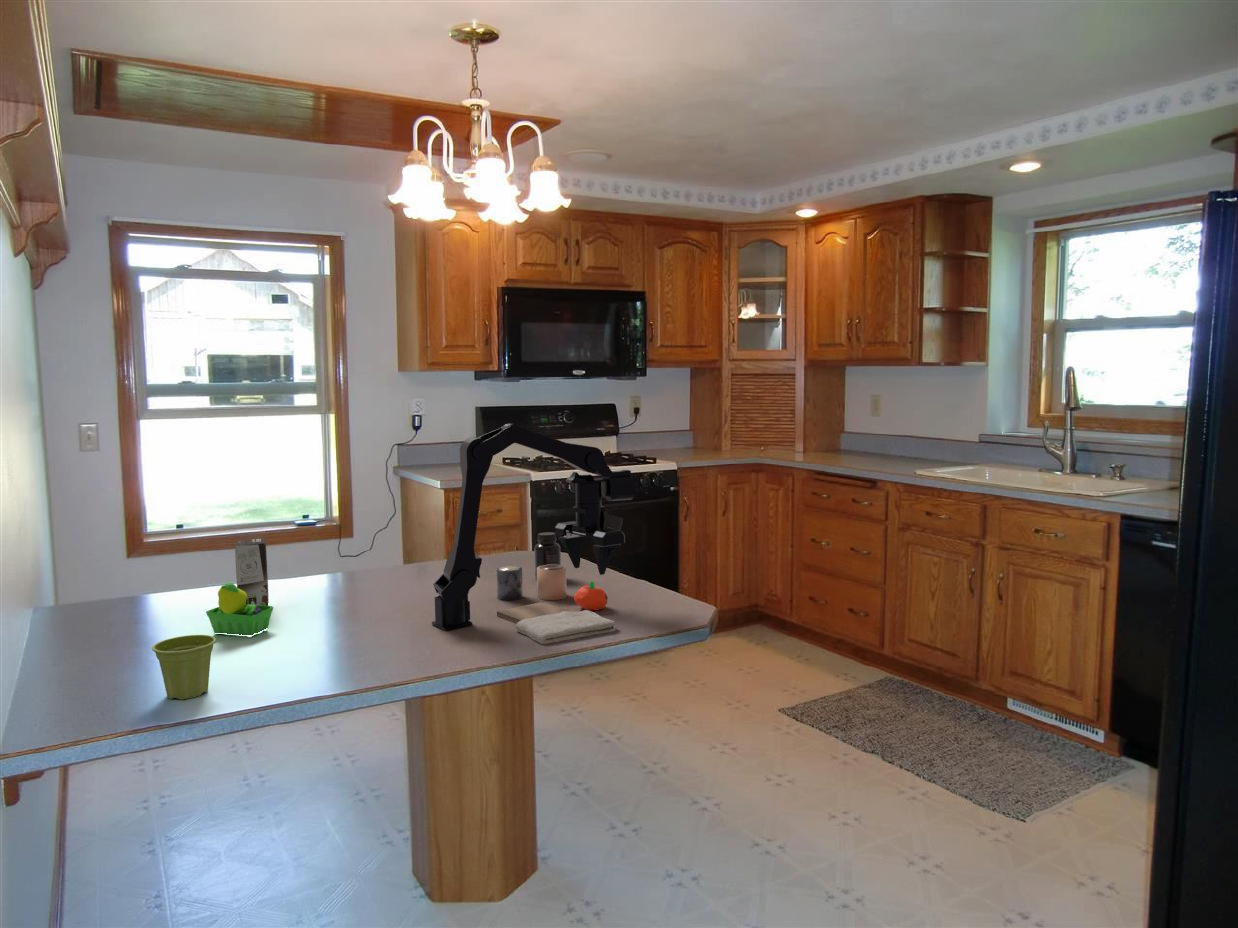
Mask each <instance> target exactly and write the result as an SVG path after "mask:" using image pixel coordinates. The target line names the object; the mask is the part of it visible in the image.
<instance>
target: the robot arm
mask: <svg viewBox="0 0 1238 928" xmlns="http://www.w3.org/2000/svg"><path fill="white" fill-rule="evenodd" d="M513 444H517V445H520V446H523V447H526V448H528V449H531V450H534V451H538V452H541V453H543V454H546V455H548V456H549V455H550V456H552V457H555V458H558V459H560V460H561V461H563V462H564V463H566V464H568V465H569V466H570V467H573V468H574V469H577V470H578V471H581V472H585V473H589V474H579V473H578V472H577V471H572V473H571V474H570V475H569V477H567V478H566V483H569V484H575V506H572V507H571V512H574V513H575V520H573V521H572V520H571V521H565V522H558V523H557V524H556V525H555V527H554V533H555V536H556V537H558V540H559V541H560V543H561V544H562V546H563V547H564V549H565V551H566V552H567V555H568V557H569V559H570V561H571V563H572V565H573V567H574V568H575V569H579V568H580V566H581V565H580V564H581V555H582V554H581V553H582V543H583V542H584V540H585V539H586V538H589V539H590V538H591V539H592V541H593V543H594V544H593V545H592V550H593V553H594V558H595V562H596V565H597V570H598V574H599V575H600V576H602V575H603V576H604V575H605V574H606V571H607V568H608V564H609V562H610V559H611V556H612V554H613V552H615V551H614V550H616V549H617V548H618V547H619V548H620V547H621V545H622V544H625V543H626V536H625V535H626V534H625V533H624V532H623V531H622V530H621V529H622V526H623V520H624V518H623V517H619V516H616V515H613V514H609V513H608V511H607V508H606V506H602V497H603V498H605V500H606V501H607V502H615V501H627V500H628V501H631V500H633V499H634V497H635V495H636V484H635V482H634V481H635V480H634V478H633V477H632V470H630V469H622V470H621V469H620V470H617V471H616V470H612V469H611V467H609V465H608V464H607V462H606V461H605V455H604V453H603V451H602V450H601V449H600V448H599V447H596V446H590V445H582V444H577V443H576V444H575V443H569V442H565V441H562V440H559V439H556V438H553V437H552V436H551V437H550V436H547V435H545V434H541V433H539V432H536V431H533V430H530V429H527V428H524V427H522V426H520V425H519V424H516V423H509V422H508V423H505V424H504V425H503V426H501V427H498V428H497V429H495V430H492V431H489V432H488V433H485V434H482V435H481V436H478V437H475V436H474V437H472V436H471V437H468V438H466V439H465V440H463V441H462V442H461V444H460V445H459V446H460V447H459V464H460V471H461V476H462V479H461V480H462V482H461V489H460V495H459V504H458V512H457V518H456V519H457V520H456V527H455V534H454V542H453V545H452V547H451V549H450V551H449V553H448V556H447V559H446V562H445V565H444V568H443V574H441V575H440V577H438V579H437V580H436V581H435V582H434V583H433V588H434V590H435V593H436V594H438V596H434V618H435V619H434V620H435V621H432V622H431V625H433V626H435V627H437V628H439V629H442V630H444V631H450V630H455V629H459V628H463V627H468V626H472V625H474V624H473V621H471V602H470V600H469V592H470V591H471V589H472V588H474V586H475V585H476V583H477V582H478V581H477V580H478V578H479V579H480V578H481V574H480V570H481V565H482V562H483V559H482V557H480V556H479V555H478V554H476V551H475V544H476V543H475V541H476V537H477V536H476V535H477V528H478V521H479V512H480V505H481V498H482V490H483V483H484V480H485V478H486V476H487V474H488V472H489V470H490V467H491V465H492V461H493V458H494V456H496V455H498V454H499V453H501V452H502V451H505V450H506V449H508V448H509V447H510V446H512V445H513ZM593 475H595V476H599V478H595V477H594V476H593Z"/></svg>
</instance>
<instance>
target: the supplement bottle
mask: <svg viewBox="0 0 1238 928" xmlns="http://www.w3.org/2000/svg"><path fill="white" fill-rule="evenodd" d="M556 541H557V536H555V532H551V531H549V532H540V533H537V542H538V543H537V544H535V546H534V548H533V550H534V551H533V552H534V554H533V555H534V577H535V580H536V581H537V567H539V566H543V565H562V562H561V561H562V557H561V555H562V554H561V545H560V544H559V543H557V542H556Z"/></svg>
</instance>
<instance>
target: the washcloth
mask: <svg viewBox="0 0 1238 928" xmlns="http://www.w3.org/2000/svg"><path fill="white" fill-rule="evenodd" d="M615 622H616V621H615V620H611V619H610V618H605V617H603V616H602V615H599V614H598V613H596V612H595V611H594V612H593V611H592V610H586V609H583V610H582V611H581V610H580V611H571V612H570V610H568V611H563V612H561V613H557V614H551V615H544V616H539V617H534V618H529V619H523V620H521V621H519V622H518V623H515V629H516V631H518V632H519V633H520V634H522V635H524V636H527V637H529V638H530V639H531V640H533V641H535V642H537V643H539V644H541V645H547V644H552V643H558V642H563V641H568V640H575V639H578V638H584V637H589V636H594V635H601V634H607V633H613V632H616V628H615V627H614V626H615V625H616V624H615Z"/></svg>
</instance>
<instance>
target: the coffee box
mask: <svg viewBox="0 0 1238 928" xmlns="http://www.w3.org/2000/svg"><path fill="white" fill-rule="evenodd" d="M234 547H235V548H234V552H235V556H234V557H235V572H236V587H237V588H238V589H240V590H243V591H244V592H245V593H246V594H247V600H246V604H248V605H251V604H252V603H254V604H255V605H262V606H268V603H269V580H268V579H269V576H268V575H269V574H268V573H269V572H268V559H267V558H268V557H267V544H266V537H253V538H244V539H236V540H235V545H234Z"/></svg>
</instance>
